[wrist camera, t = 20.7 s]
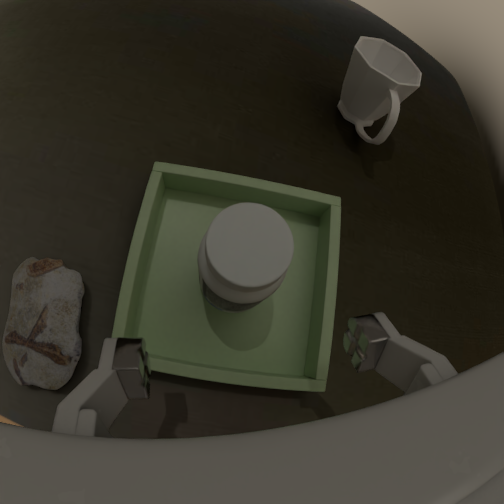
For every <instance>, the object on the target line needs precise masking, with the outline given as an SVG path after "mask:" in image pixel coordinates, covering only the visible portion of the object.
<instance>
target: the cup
mask: <svg viewBox="0 0 504 504" xmlns="http://www.w3.org/2000/svg"><path fill="white" fill-rule="evenodd" d="M421 75H422V73H421V71H420V70H419V69H418V68H417V66H416V65H415V64H414V62H413V61H412V60H411V59H410V57H409V56H408V55H407V54H406V53H405V52H403V51H401V50H400V49H398V48H397V47H395V46H393V45H392V44H390V43H388V42H387V41H385V40H383V39H378V38H371V37H364V36H361V37H360V39H359V40H358V42H357V44H356V45H355V47H354V50H353V53H352V56H351V60H350V63H349V67H348V70H347V73H346V76H345V79H344V82H343V86H342V92H341V98H340V101H339V103H338V105H337V107H338V109H339V110H340V112H341V114H342V116H343V118H344V119H346V120H348V121H349V122H351V123H353V124H354V125H355V128H356V131H357V133H358V135H359V136H360V137H361V138H362V139H363V140H365V141H366V142H368V143H372V144H376V145H379V144H381V143H383V142H384V141H385V140H386V139H387V137H388V136H389V135H390V133H391V131H392V129H393V128H394V126H395V124H396V122H397V118H398V115H399V111H400V103H401V102H402V101H403V100H404V99H405V98H407V97H408V96H409V95H410V94H411V93H413V92H414V91H415V90H416V89H417V88H419V87H420V81H421ZM387 113H388V117H387V120H386V122H385V124H384V126H383V128H382V129H381V131H380V132H379V134H378V135H377V137H375V138H373V139H371V138H370V137H369V136H368V135H367V134H366V133H365V131H364V129H363V127H365V126H372V124H373V122H374V120H378V119H379V118H381V117H383V116H384V115H386V114H387Z"/></svg>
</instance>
